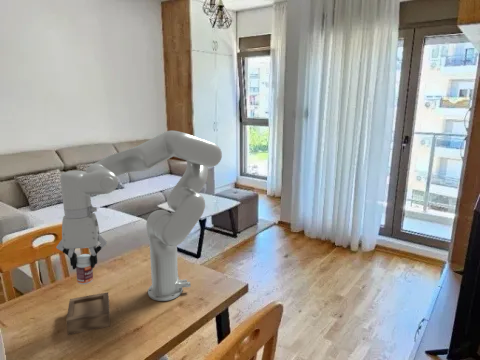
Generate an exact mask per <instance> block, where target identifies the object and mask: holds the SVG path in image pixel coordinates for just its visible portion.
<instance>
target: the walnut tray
mask: <svg viewBox="0 0 480 360" xmlns="http://www.w3.org/2000/svg"><path fill="white" fill-rule="evenodd" d="M67 309H68V310H67V313H66V314H67V315H66V320H65V321H66V327H67V328H66V330H67V336H68V335H74V334H78V333H83V332H88V331H92V330H98V329H102V328H103V329H104V328H108V327H110V326H111V324H110V323H111V322H110V321H111V318H110V316H111V314H110V300H109V292H108V291H107V292H102V293H97V294H91V295H85V296H84V295H83V296H80V297H74V298H69V302H68V308H67Z"/></svg>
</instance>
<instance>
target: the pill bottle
mask: <svg viewBox="0 0 480 360" xmlns="http://www.w3.org/2000/svg"><path fill="white" fill-rule="evenodd" d="M90 257H91V254H88V253H83V254H79V255H78V256H77V263H76V269H75V270H76V282H77V284H79V285H88V284H90V283H92V282H93V280H94V271H93V269H94V268H92V267H91V259H90Z"/></svg>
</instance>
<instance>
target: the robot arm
mask: <svg viewBox="0 0 480 360" xmlns="http://www.w3.org/2000/svg"><path fill="white" fill-rule="evenodd" d="M173 157H174V158H178V159H180V160H184V161H186V168H185V171H184V172H183V174H182V176H181V177H180V179H179V180H178V182H177V183H176V184H175V186H174V187H173V188H172V189H171V191H170V192H169V194H168V196H167V198H166V202H167V203H166V205H167V206H168V207H169V208H170V209H171V210H172V211H174V212H173V213H171V212H169V211H168V210H164V209H156V210H154V211H152V212H151V213H150V214H149V216H148V217H147V219H146V224H145V225H146V233H147V238H148V242H149V253H150V254H149V256H150V271H151V272H150V274H151V277H150V278H151V285H150V286H149V287H148V290H147V295H148V297H149V298H150V299H152V300H154V301H159V302H167V301H171V300H174V299H177V298H178V297H179V296H180V295H182V293H183V288H191V281H188V279H187V278H185V279H181V278H180V276H179V274H178V273H179V272H178V271H179V269H178V247H177V246H179V245H180V244H182V243H183V242H185V240H186V239H187V237H188V236H189V235H190V234H191V232H192V230H193V229H194V228H195V226H196V225H197V223H198V221H199V220H200V219H201V218H202V216H203V214H204V211H205V208H206V201H205V199H204V197H203V195H202V194H201V193H200V192H201V191H202V189H203V188H204V186H205V185H206V183H207V180H208V173H209V169H208V168H213V167H216V166H217V165H219V164H220V162H221V160H222V157H223V154H222V150H221V147H220V146H219V145H218V144H216V143H214V142H211V141H208V140H205V139H203V138H200V137H197V136H196V135H195V136H194V135H192V134H189V133H186V132H182V131H178V130H167V131H164V132H162V133H160V134H159V135H157V136H155V137H152V138H150V139H149V140H147V141H145V142H142V143H140V144H139V145H137V146H134V147H131V148H128V149H125V150H122V151H119V152H116V153H112V154H111V155H108V156H106V157H104V158H102V159H100V160H98V161H96V162H94V163H92V164H91V165H89V166H88V167H87V168H86V169H85V170H68V171H65V172H63V173H61V175H60V177H59V179H60V180H59V181H60V187H61V188H60V189H61V195H62V197H61V198H62V205H63V212H64V215H63V217H62V221H61V240H60V241H59V242H58V244H57V245H56V246H55V247H56V249H57V250H59V251H61V252H63V254H65V255H66V256H67V257H68V258H69V262H70V263H69V264H70V267H72V270H76V263H77V257H78V256H77V255H78V254H77V253H76V250H77V249H88V250H89V251H90V255H91V257H90V259H91V267H92V268H93V269H94V268H95V266H96V265H97V264H98V253H99V252H100V251H101V250H102V249H104V248H105V246H106V247H107V244H108V241H106V239H105V238H104V237H102V235H101V232H100V227H99V222H98V219H97V215H96V213H95V212H97V211H98V207H96V206H93V205H92V199H91V195H107V194H110V193H112V192H114V191H115V190H116V189H117V188H118V185H119V179H118V177H119V176H121V175H124V174H128V173H132V172H133V173H134V172H145V171H149V170H151V169H153V168H154V167H156V166H158V165H160V164H162V163H164V162H166V161H168V160H169V159H172V158H173Z"/></svg>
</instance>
